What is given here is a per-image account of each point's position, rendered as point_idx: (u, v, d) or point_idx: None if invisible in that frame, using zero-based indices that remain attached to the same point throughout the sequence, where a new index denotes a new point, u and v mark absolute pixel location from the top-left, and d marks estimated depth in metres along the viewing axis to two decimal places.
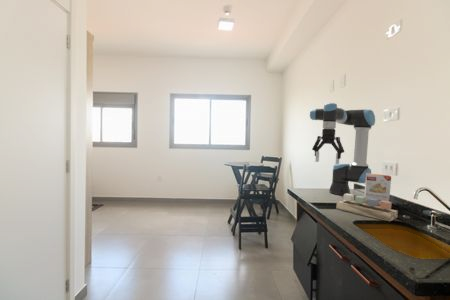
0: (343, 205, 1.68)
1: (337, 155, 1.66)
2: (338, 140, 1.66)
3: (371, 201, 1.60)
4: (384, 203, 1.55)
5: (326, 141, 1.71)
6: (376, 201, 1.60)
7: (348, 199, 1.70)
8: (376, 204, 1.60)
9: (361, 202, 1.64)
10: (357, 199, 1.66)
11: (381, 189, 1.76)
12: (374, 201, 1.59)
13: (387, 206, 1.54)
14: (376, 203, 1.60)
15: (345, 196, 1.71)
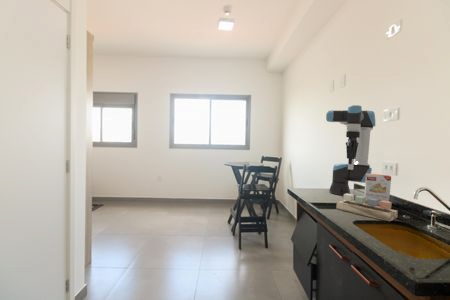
0: (343, 205, 1.68)
1: (348, 160, 1.71)
2: (347, 146, 1.67)
3: (371, 201, 1.60)
4: (384, 203, 1.55)
5: None
6: (376, 201, 1.60)
7: (348, 199, 1.70)
8: (376, 204, 1.60)
9: (361, 202, 1.64)
10: (357, 199, 1.66)
11: (381, 189, 1.76)
12: (374, 201, 1.59)
13: (387, 206, 1.54)
14: (376, 203, 1.60)
15: (345, 196, 1.71)
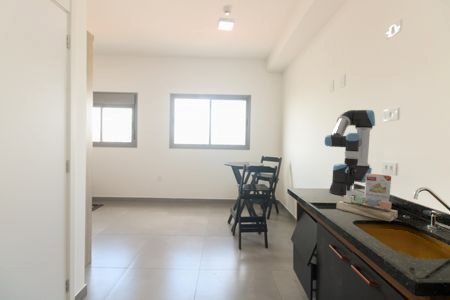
0: (343, 205, 1.68)
1: (347, 187, 1.72)
2: (345, 173, 1.68)
3: (371, 201, 1.60)
4: (384, 203, 1.55)
5: None
6: (376, 201, 1.60)
7: (348, 200, 1.70)
8: (376, 204, 1.60)
9: (361, 202, 1.64)
10: (357, 199, 1.66)
11: (382, 189, 1.76)
12: (374, 201, 1.59)
13: (387, 206, 1.54)
14: (376, 203, 1.60)
15: (345, 198, 1.71)
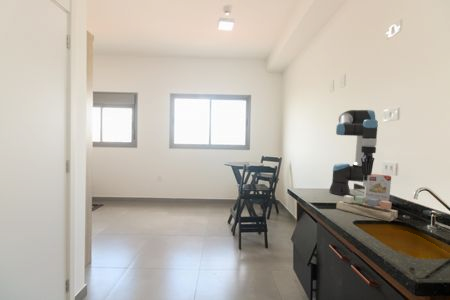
0: (343, 205, 1.68)
1: (364, 176, 1.64)
2: (362, 161, 1.60)
3: (371, 201, 1.60)
4: (384, 203, 1.55)
5: None
6: (376, 201, 1.60)
7: (348, 201, 1.70)
8: (376, 204, 1.60)
9: (361, 202, 1.64)
10: (357, 199, 1.66)
11: (381, 189, 1.76)
12: (374, 201, 1.59)
13: (387, 206, 1.54)
14: (376, 203, 1.60)
15: (345, 198, 1.71)
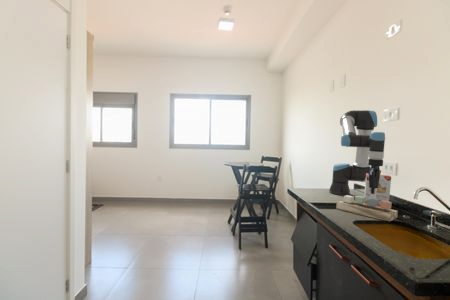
0: (343, 205, 1.68)
1: (371, 189, 1.61)
2: (369, 175, 1.57)
3: (371, 201, 1.60)
4: (384, 203, 1.55)
5: None
6: (376, 201, 1.60)
7: (348, 201, 1.70)
8: (376, 204, 1.60)
9: (361, 202, 1.64)
10: (357, 199, 1.66)
11: (381, 189, 1.76)
12: (374, 201, 1.59)
13: (387, 206, 1.54)
14: (376, 203, 1.60)
15: (345, 198, 1.71)
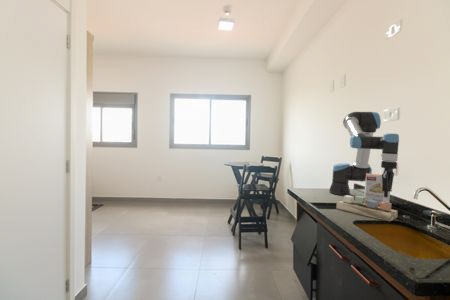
0: (343, 205, 1.68)
1: (384, 193, 1.56)
2: (383, 178, 1.52)
3: (371, 203, 1.60)
4: (384, 204, 1.55)
5: None
6: (376, 203, 1.60)
7: (348, 201, 1.70)
8: (376, 206, 1.60)
9: (361, 202, 1.64)
10: (357, 199, 1.66)
11: (381, 189, 1.76)
12: (374, 203, 1.59)
13: (387, 207, 1.54)
14: (376, 205, 1.60)
15: (345, 198, 1.71)
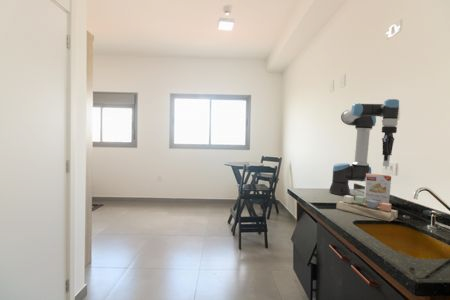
0: (343, 205, 1.68)
1: (384, 157, 1.64)
2: (383, 142, 1.60)
3: (371, 203, 1.60)
4: (384, 205, 1.55)
5: None
6: (376, 203, 1.60)
7: (348, 201, 1.70)
8: (376, 206, 1.60)
9: (361, 202, 1.64)
10: (357, 199, 1.66)
11: (382, 189, 1.76)
12: (374, 203, 1.59)
13: (387, 208, 1.54)
14: (376, 205, 1.60)
15: (345, 198, 1.71)
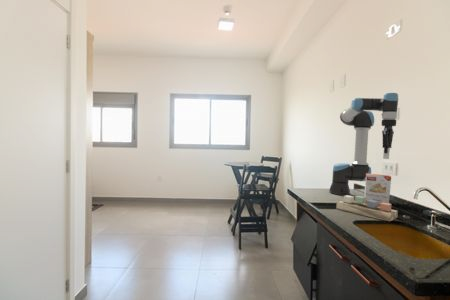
0: (343, 205, 1.68)
1: (384, 149, 1.67)
2: (383, 134, 1.63)
3: (371, 203, 1.60)
4: (384, 205, 1.55)
5: None
6: (376, 203, 1.60)
7: (348, 201, 1.70)
8: (376, 206, 1.60)
9: (361, 202, 1.64)
10: (357, 199, 1.66)
11: (382, 189, 1.76)
12: (374, 203, 1.59)
13: (387, 208, 1.54)
14: (376, 205, 1.60)
15: (345, 198, 1.71)
